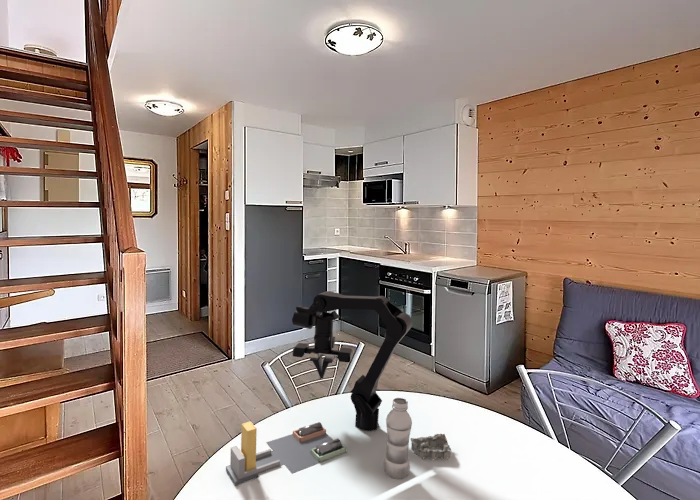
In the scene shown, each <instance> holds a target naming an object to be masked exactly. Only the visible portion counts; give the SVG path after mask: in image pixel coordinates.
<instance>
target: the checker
mask: <svg viewBox="0 0 700 500" xmlns="http://www.w3.org/2000/svg"><path fill="white" fill-rule="evenodd" d="M322 427H323V430H321V431H318V432H315V433H312V434H309V435H306V436H303V437H300V436H299V428H298V429H295V430H293V431H292V434H288V435H285V436H282V437H279V438H276V439H272V440H269V441H266V442H265V444H266V445H268V447H269V449H265V450H263V451H260V452H256V468H254V469H251V470H248V471H245V457H244V455H243V453H242V452H241V448H239V447H238V446H237V445H234V446H232V447H230V459H229V460H230V463H229V464H227V465H226V466H225V471H226V472H227V474H228V476H229V478H230V479H231V481H232V483H233V485H234V486H239V485H242V484H244V483H247V482H250V481H253V480H254V479H257V478H260V475H259V474H262V473H265V472H268V471H270V470H273V469H275V468H279V467H281V466H285V467H286V469H288V471H289V472H290V474H294V473H297V472H300V471H303V470H305V469H308V468H310V467H313V466H315V465H318V464H320V463H323V462H326V461H329V460H330V459H331V460H332V459H334V458H336V457H339V456H342V455H345V454H347V453H348V451H347V447H346V446H345V445H344V444H343V443H342V442H341V444H342V447H341V449H339V450H336V451H333V452H331V453H328V454H325V455H323V456H320V457H319V456H318V455H317V452H316V446H317V445H320V444H323V443H326V442H329V441H331V440H334V439H333V438H332V437H331V436H330V435H329V434H327V429H326V428H325V427H324V426H323V425H322Z"/></svg>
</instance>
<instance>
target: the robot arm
mask: <svg viewBox="0 0 700 500" xmlns="http://www.w3.org/2000/svg"><path fill="white" fill-rule="evenodd" d="M339 310H358V311H359V310H360V311H375V312H376V313H377V314H378V316H379V318H380V320H381V322H382V323H383V324H384V325H385V326H386V329H385V332H384V340H383V342H382V344H381V346H380V347H379V350H378V352H377V354H376V355H375V358H374V360H373V361H372V364H371V365H370V367H369V368H368V370H367V373H366V374H365V375H364V374H362V375H360V377H359V378H358V379H357V380H356V381H355V382H354V386H353V388H352V389H351V390H350V392H349V393H351V395H350V400H351V403H352V404H353V407H354V410H355V423H354V424H355V425H354V427H355V428H357V429H359V430H362V431H365V432H373V431H378V428H379V425H380V424H379V417H380V416H379V415H380V413H379V412H380V408H379V407H380V406H381V404H382V402H383V400H382V398H381V397H380V396H379V395H378V393H377V389H378V385H379V380H380V378H381V376H382V374H383V372H384V370H385V368H386V367H387V365H388V362H389V361H390V359H391V357H392V355H393V353H394V352H395V350H396V348H397V346H398V344H399V343H400V342H401V341H402V339H403V338H404V337H405V335H407V333H408V332H409V331H410V330H411V328H412V327H413V320H412V317H411V316H410V315H409V314H408V313H405V312H404V311H402V310H401V308H400V307H398V306H397V305H396V304H394V303H392V302H391V301H390V300H389V299H388V298H387V297H386V296H384V295H379V296H370V295H369V296H367V295H344V294H341V293H338V292H336V291H335V292H334V291H331V290H328V291H324V292H321V293H318V294H316V295H315V296H314V298H313V302H312V304H311V305H310V306H309V307H307V306H304V305H297V306H296V307H295V311H294V313H293V316H292V318H291V321H292V325H293V326H294V327H298V328H303V329H307V330H311V329H312V328H314V336H313V342H314V345H313V346H314V347H310V344H309V343H303V342H302V343H301V342H298V343H297V344H296V345H295V346H294V347H293V348H292V357H293V358H294V357H295V358H296V357H297V358H302V357H304V356H305V354H308V355H309V354H310V358H309V361H310V362H312V363H313V365H314V366H315V369H316V370H317V371H316V372H317V373H318V376H319V378H320V379H324V377H325V374H326V371H327V368H328V366H329V364H332V363H333V362H334V360H335V358H337V360H338V361H339V362H341V363H351V361H352V358H353V355H354V354H353V353H354V352H353V351H354V350H353V349H352V347H350V348H349V347H340V348H339V350H336V349H334V348H335V343H336V336H334V321H337V320H338V319H339V318H340V317H341V316H340V314H338V313H337V311H339ZM323 356H324V359H323Z"/></svg>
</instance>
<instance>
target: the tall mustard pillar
mask: <svg viewBox="0 0 700 500" xmlns="http://www.w3.org/2000/svg"><path fill="white" fill-rule="evenodd" d="M240 431H241V432H240V433H241V435H240V436H241V437H240V438H241V439H240V441H241V442H240V450H241V452H242V453H243V455H244V457H245V471H248V470H251V469H254V468H256V453H257V434H258V433H257V432H258V430H257V426H255V425H254V424H253V422H252V421H251V420H250V421H247V422H244V423H241V430H240Z"/></svg>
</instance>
